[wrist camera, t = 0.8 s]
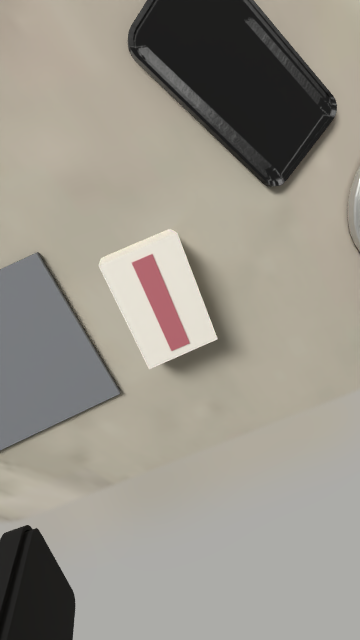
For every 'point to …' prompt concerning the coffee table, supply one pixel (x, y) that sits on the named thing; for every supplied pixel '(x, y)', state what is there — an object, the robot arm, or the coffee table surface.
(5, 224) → the coffee table surface
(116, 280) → the card box
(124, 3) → the coffee table surface
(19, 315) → the mat
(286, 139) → the phone
